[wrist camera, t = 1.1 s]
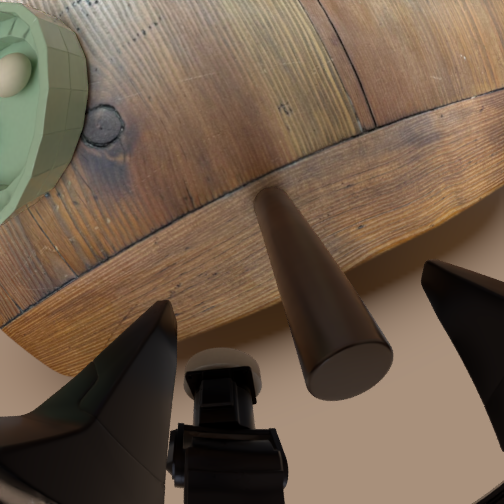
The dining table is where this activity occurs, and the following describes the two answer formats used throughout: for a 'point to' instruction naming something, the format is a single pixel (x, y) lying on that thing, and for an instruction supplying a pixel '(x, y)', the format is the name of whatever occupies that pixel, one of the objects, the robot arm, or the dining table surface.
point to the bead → (14, 74)
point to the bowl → (39, 107)
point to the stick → (320, 305)
